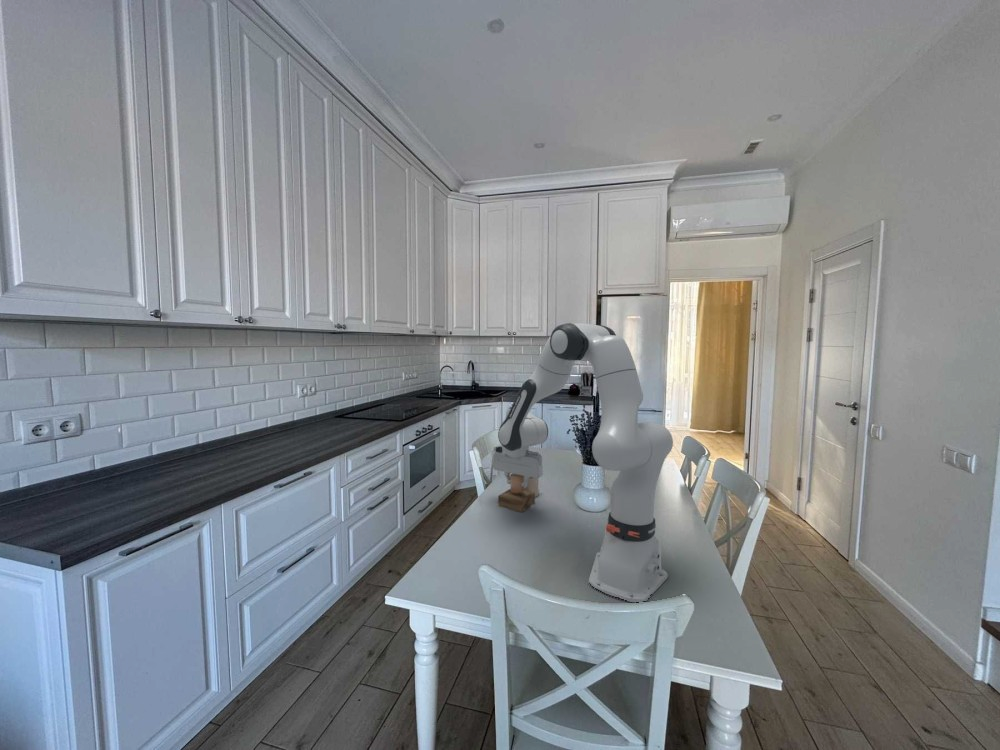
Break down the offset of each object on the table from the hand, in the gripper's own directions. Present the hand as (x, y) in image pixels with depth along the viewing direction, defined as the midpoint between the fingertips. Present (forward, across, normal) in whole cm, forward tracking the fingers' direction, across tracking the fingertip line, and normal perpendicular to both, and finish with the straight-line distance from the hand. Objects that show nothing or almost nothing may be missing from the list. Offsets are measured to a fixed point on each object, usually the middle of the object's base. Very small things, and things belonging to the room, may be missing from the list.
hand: (516, 485), depth 147 cm
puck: (+2, 0, 0) cm, 2 cm away
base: (+8, 0, 0) cm, 8 cm away
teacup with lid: (+8, +3, -11) cm, 14 cm away
